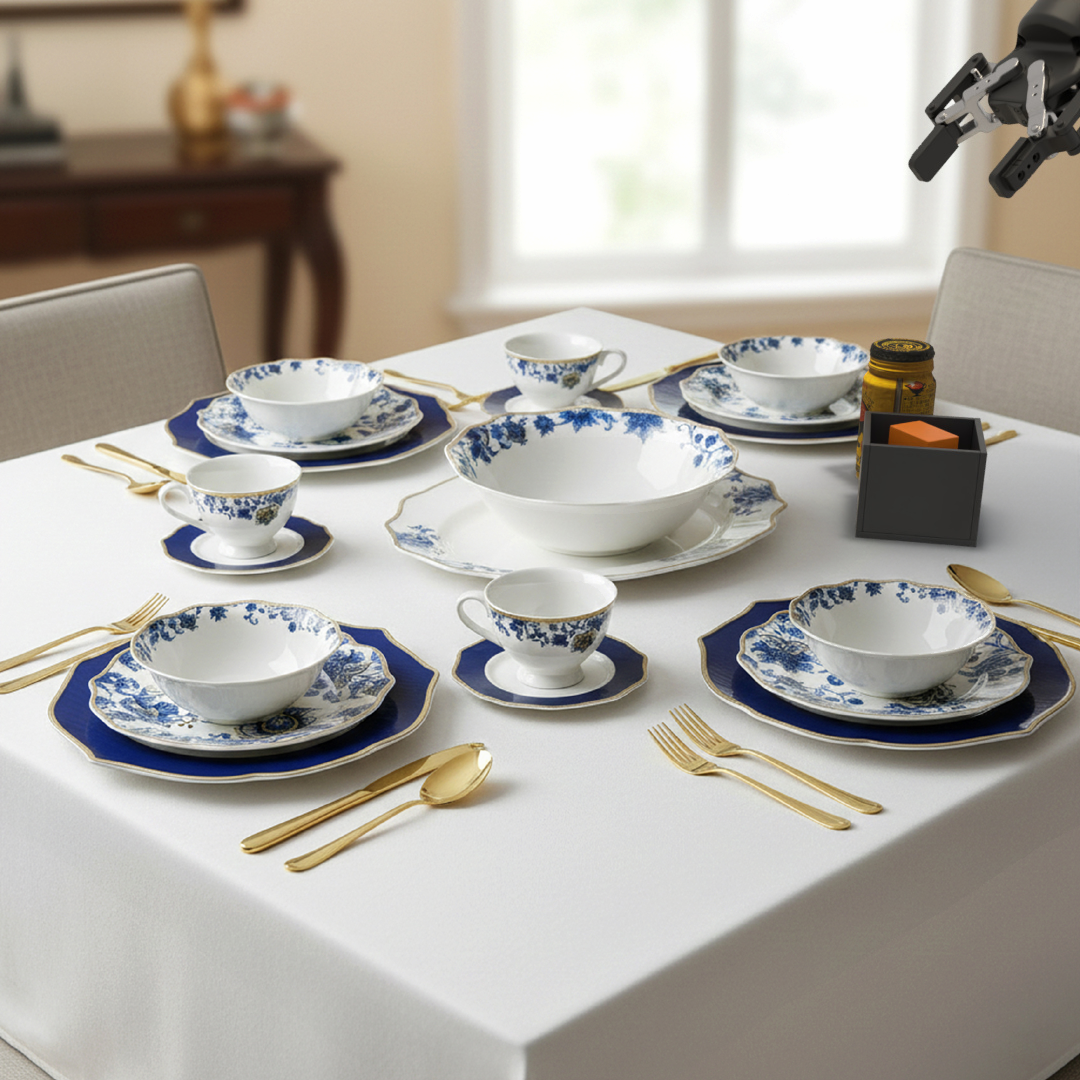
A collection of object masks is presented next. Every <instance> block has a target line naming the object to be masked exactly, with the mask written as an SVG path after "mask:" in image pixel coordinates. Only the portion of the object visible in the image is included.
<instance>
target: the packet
mask: <svg viewBox="0 0 1080 1080" xmlns="http://www.w3.org/2000/svg"><path fill="white" fill-rule="evenodd" d="M958 441H959V436H956V435H954V434H951V433H949V432H946V431H944V430H942V429H939V428H937V427H934V426H932V425H929V424H927V423H924V422H922V421H914V422H908V423H902V424H896V425H891V426H890V432H889V442H888V445H902V446H917V447H931V448H946V449H958Z"/></svg>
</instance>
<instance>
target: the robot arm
mask: <svg viewBox="0 0 1080 1080" xmlns="http://www.w3.org/2000/svg"><path fill="white" fill-rule="evenodd" d="M1016 34H1017V35H1016V42H1015V43H1016V44H1015V47H1014V49H1013V50H1012V51H1011V52H1010V53H1008V54H1007V55H1006V56H1005V57H1003V58H1002V59H1000V60H999V61H998V62H997V63H996V62H991V61H990V62H989V61H988V60H987V58H986V57H985V55H984V54H983V52H976V53H974V54H973V55H971V57H969V59H968V60H967V61H966V62H965V63H964V64H963V66H961V68H960V69H959V70H958V71H957V72H956V73H955V74H954V75H953V77H952V78H951V79H950V80H949V81H948V82H947V83H946V84H945V85H944V87H943V88H942V89H941V90H940V91H939V92H938V93H937V95H935V97H934V98H933V99H932V100H931V101H930V103H929V104H928V105H927V106H926V107H925V108H924V113H925V114H926V116H927V117H928V119H929V121H930V122H931V123H932V124H933V125H934V127H933V128H932V130H931V131H930V133H928V135H927V136H926V137H925V138H924V139H923V141H922V142H921V144H919V146H917V148H916V149H915V150H914V151H913V153H912V154H911V156H910V158H909V159H908V163H907V165H908V168H909V169H910V171H911V172H912V174H913V175H914V176H915V178H916V179H917V180H918V181H919V182H923V183H929V182H931V181H932V180H933V179H934V178H935V176H936V175H937V174H938V172H939V171H940V170H941V169H942V168H943V167H944V165H945V164H946V163H947V162H948V161H949V159H950V158H951V157H952V156H953V154H955V152H956V151H957V150H958V148H959V147H960V146H959V145H960V144H962V143H963V142H965V141H967V140H969V139H970V138H971V137H973V136H975V135H976V134H978V133H981V132H982V133H985V134H989V133H991V132H993V131H994V130H996V129H998V128H1000V127H1001V126H1003V125H1008V126H1009V125H1020V126H1023V128H1027V129H1026V135H1027V136H1028V137H1025V136H1020V137H1018V139H1017V140H1016V141H1015V143H1014V144H1013V145H1012V147H1010V148H1009V150H1008V151H1007V152H1006V153H1005V155H1004V156H1003V157H1002V159H1000V160H999V162H998V163H997V164H996V166H995V167H994V168H993V169H992V170H991V172H990V173H989V175H988V183H989V185H990V186H991V187H992V189H993V191H994V193H996V195H997V196H998V197H999V198H1003V199H1011V198H1012V197H1014V195H1015V194H1016V193H1017V192H1018V191H1019V190H1021V189H1022V188H1023V187H1024V186H1025V185H1026V183H1028V181H1029V180H1030V179H1031V178H1032V176H1033V175H1034V174H1035V173H1036V172H1037V170H1038V169H1039V168H1040V167H1041V165H1043V163H1044V162H1045V161H1050V160H1052V159H1054V158H1055V157H1057V156H1058V155H1059V153H1064V152H1066V154H1067V155H1068V156H1070V157H1075V156H1077V155H1080V126H1079V127H1078V128H1077V130H1076V129H1075V127H1074V126H1075V124H1076V123H1077V121H1078V120H1079V119H1080V0H1036V1H1035V2H1034V3H1033V4H1032V6H1031V7H1030V8H1029V9H1028V11H1027V12H1026V13H1025V14H1024V15H1023V17H1021V20H1020V21H1019V23H1018V25H1017V32H1016ZM985 96H987V103H988V106H989V108H990V109H991V112H992V113H990V112H987V111H986V110H985V109H984V107H983V105H982V104H981V100H982V99H984V97H985ZM952 100H953V102H954V103H953V104H952V105H950V106H948V104H950V102H951V101H952ZM947 106H948V107H947ZM969 114H970V115H971V116H972V117H973V118H972V119H971V120H969V121H968V122H966V123H964V124H962V125H960V124H961V123H962V122H963V121H964V120H965V118H966V117H967V116H969Z"/></svg>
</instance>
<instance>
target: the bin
mask: <svg viewBox="0 0 1080 1080" xmlns="http://www.w3.org/2000/svg"><path fill="white" fill-rule="evenodd" d="M914 421H922V422H924V423H927V424H929V425H932V426H934V427H937V428H939V429H942V430H944V431H946V432H949V433H951V434H954V435H956V436H959V441H958V449H946V448H931V447H917V446H902V445H888V442H889V432H890V426H891V425H896V424H902V423H908V422H914ZM987 459H988V449H987V444H986V439H985V434H984V430H983V425H982V420H981V418H980V417H967V416H955V415H954V416H952V415H937V414H933V415H923V414H908V413H892V412H877V411H872V412H871V411H865V418H864V429H863V440H862V451H861V462H860V473H859V480H858V484H857V496H856V512H855V513H856V514H855V515H856V516H855V529H854V530H855V533H854V537H855V538H859V539H870V540H882V541H894V542H908V543H918V544H919V543H921V544H931V545H942V546H943V545H945V546H954V547H955V546H956V547H957V546H958V547H970V548H976V547H977V541H978V533H979V525H980V517H981V509H982V501H983V493H984V483H985V477H986V476H985V475H986V468H987Z"/></svg>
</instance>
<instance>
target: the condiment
mask: <svg viewBox="0 0 1080 1080" xmlns="http://www.w3.org/2000/svg"><path fill="white" fill-rule="evenodd" d="M935 356H936V351H935V349H934V346H933V345H932V344H930V343H929V342H926V341H923V340H918V339H912V338H902V337H901V338H900V337H899V338H898V337H895V338H893V337H892V338H882V339H878V340H876V341H874V342H872V343H871V345H870V349H869V361H868V363H867V367H868V370H867V371H866V372H865V374H864V375H863V377H862V384H861V396H860V397H861V398H860V411H859V421H858V422H859V423H858V430H857V439H856V441H857V444H856V457H855V471H856V472H855V478H856V480H857V481H859V473H860V462H861V451H862V440H863V429H864V418H865V411H871V412H872V411H877V412H892V413H908V414H923V415H934V413H935V404H936V403H935V402H936V393H937V379H936V378H935V376H934V375H933V371H934V370H935V361H934V358H935Z"/></svg>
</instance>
